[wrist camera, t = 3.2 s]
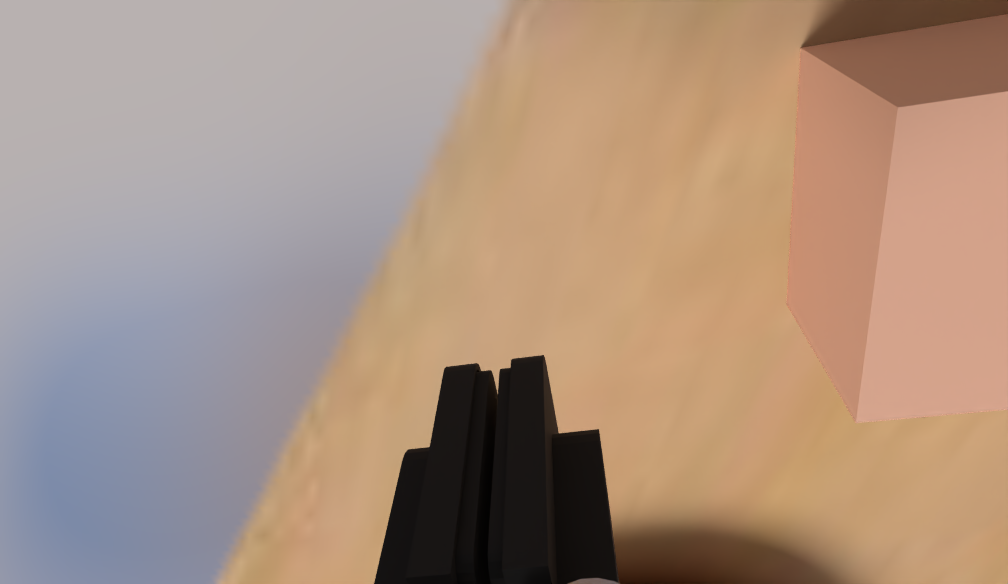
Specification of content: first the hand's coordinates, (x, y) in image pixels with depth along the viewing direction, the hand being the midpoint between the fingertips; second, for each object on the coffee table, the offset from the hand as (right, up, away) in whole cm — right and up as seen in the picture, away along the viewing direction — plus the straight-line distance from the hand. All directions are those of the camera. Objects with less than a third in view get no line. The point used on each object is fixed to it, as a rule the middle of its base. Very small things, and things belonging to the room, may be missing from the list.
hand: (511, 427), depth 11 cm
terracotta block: (+11, +5, +5) cm, 13 cm away
